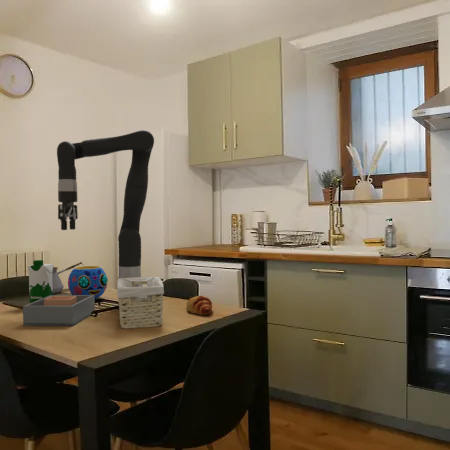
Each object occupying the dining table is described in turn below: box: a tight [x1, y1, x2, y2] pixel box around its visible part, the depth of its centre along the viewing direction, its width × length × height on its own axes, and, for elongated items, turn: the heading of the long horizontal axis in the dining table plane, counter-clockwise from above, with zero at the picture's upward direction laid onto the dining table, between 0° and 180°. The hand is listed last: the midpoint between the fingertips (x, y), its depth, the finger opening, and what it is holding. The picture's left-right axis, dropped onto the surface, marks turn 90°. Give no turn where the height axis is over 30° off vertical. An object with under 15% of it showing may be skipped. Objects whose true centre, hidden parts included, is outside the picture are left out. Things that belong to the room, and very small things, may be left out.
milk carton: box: [27, 259, 54, 304], centre depth 195 cm, size 9×9×20 cm
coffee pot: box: [52, 261, 84, 295], centre depth 230 cm, size 21×12×15 cm, turn 113°
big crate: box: [22, 294, 96, 327], centre depth 170 cm, size 18×22×7 cm
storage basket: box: [116, 276, 165, 330], centre depth 165 cm, size 24×16×15 cm
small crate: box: [44, 296, 77, 306], centre depth 170 cm, size 10×6×7 cm, turn 87°
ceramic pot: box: [67, 265, 108, 300], centre depth 209 cm, size 18×18×15 cm
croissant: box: [186, 295, 213, 316], centre depth 181 cm, size 21×10×8 cm, turn 23°
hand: (68, 229), depth 187 cm, fingers open, 8 cm apart
